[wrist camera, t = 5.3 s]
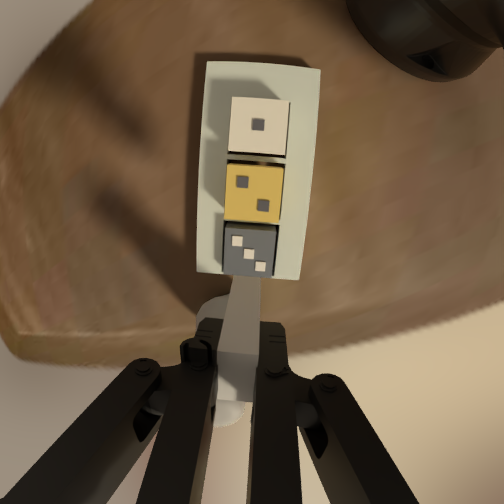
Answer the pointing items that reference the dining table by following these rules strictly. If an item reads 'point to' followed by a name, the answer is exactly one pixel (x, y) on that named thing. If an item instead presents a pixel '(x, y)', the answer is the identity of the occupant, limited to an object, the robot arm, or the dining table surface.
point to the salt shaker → (225, 409)
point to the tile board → (295, 162)
